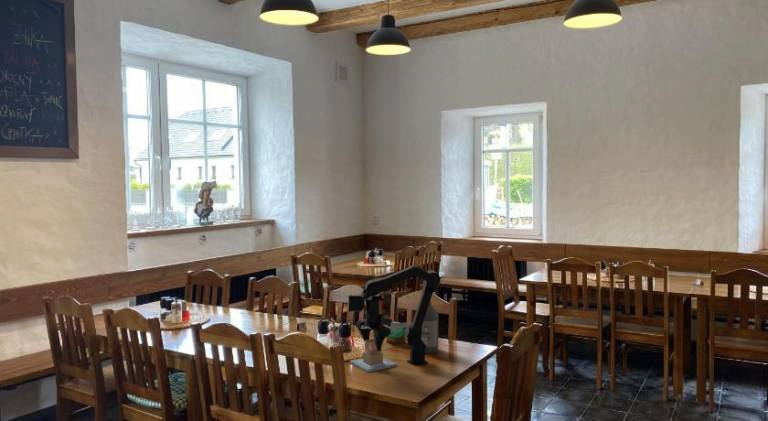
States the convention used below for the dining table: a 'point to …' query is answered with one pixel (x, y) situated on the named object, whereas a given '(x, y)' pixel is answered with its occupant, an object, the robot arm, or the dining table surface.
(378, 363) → the blueprint board
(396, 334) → the food container
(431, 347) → the liquor
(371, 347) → the terracotta block
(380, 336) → the robot arm
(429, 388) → the dining table surface
